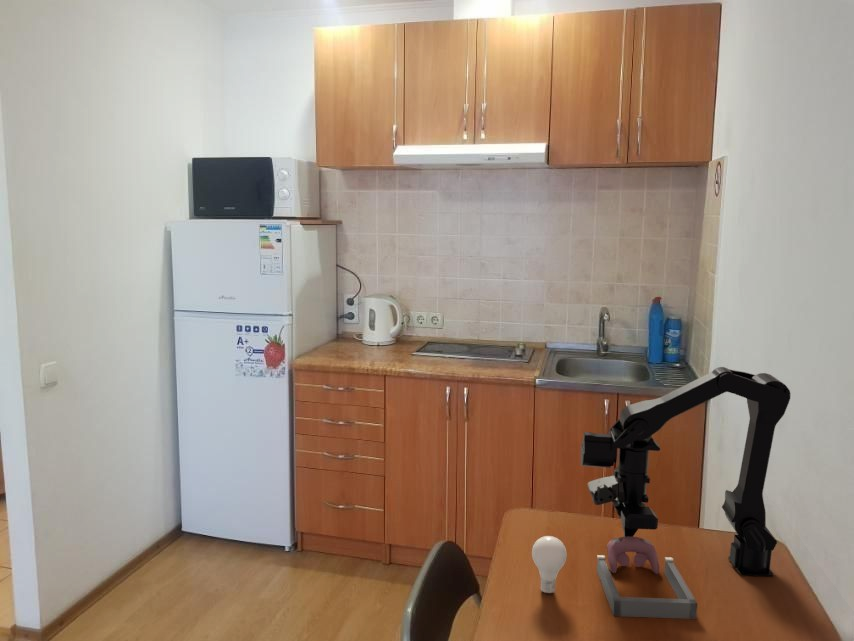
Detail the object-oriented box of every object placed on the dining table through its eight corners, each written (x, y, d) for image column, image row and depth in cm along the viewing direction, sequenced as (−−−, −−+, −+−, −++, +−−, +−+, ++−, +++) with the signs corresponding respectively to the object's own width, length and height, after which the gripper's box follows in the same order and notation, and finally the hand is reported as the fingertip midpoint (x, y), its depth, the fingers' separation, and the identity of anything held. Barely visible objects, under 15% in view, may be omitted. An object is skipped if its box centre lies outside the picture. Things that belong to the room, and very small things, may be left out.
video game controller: (654, 573, 135) (652, 536, 137) (661, 574, 131) (659, 537, 132) (605, 571, 135) (603, 535, 137) (611, 573, 131) (609, 536, 133)
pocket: (670, 573, 132) (671, 557, 132) (696, 619, 118) (698, 601, 117) (596, 570, 133) (597, 555, 132) (613, 615, 118) (614, 598, 118)
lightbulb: (543, 578, 130) (545, 526, 128) (571, 592, 125) (574, 538, 123) (523, 591, 125) (525, 537, 124) (551, 606, 121) (554, 550, 119)
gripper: (584, 449, 144) (580, 516, 147) (601, 486, 125) (596, 562, 128) (636, 451, 143) (631, 518, 146) (661, 488, 125) (655, 565, 128)
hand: (627, 539), depth 137 cm, fingers closed
